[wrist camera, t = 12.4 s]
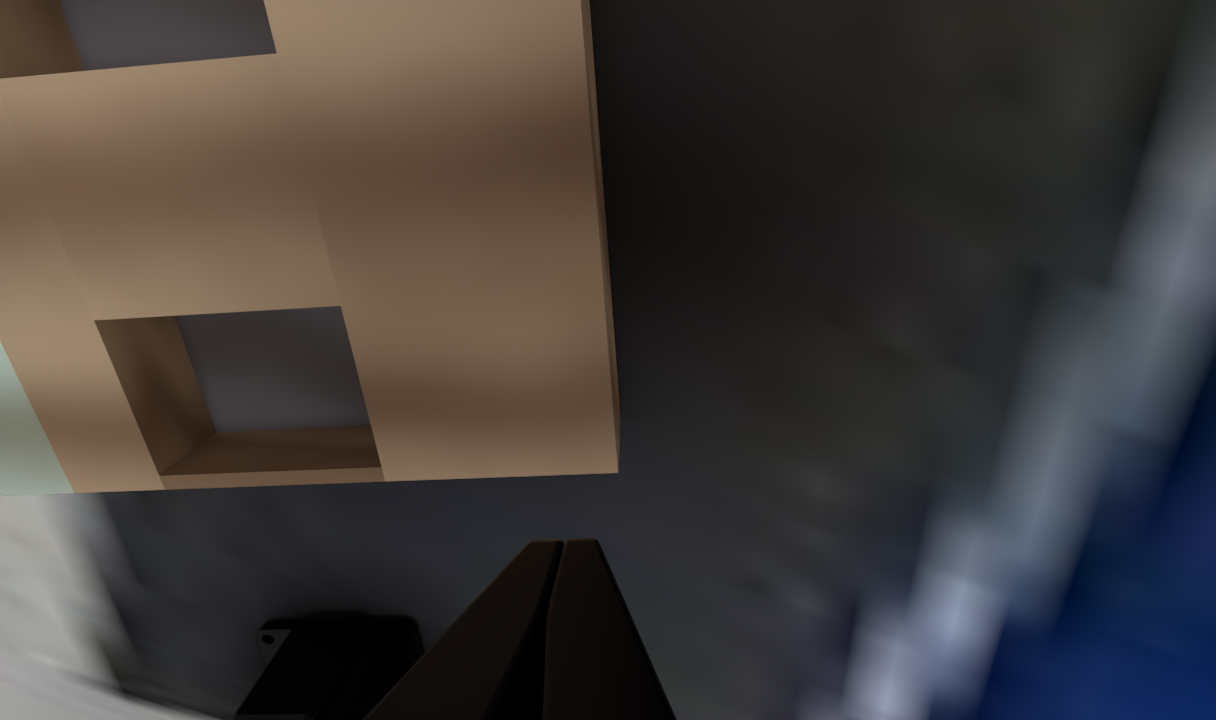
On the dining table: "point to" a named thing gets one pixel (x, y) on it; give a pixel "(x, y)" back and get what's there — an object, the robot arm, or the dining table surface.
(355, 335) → the trap deck
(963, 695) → the dining table surface
